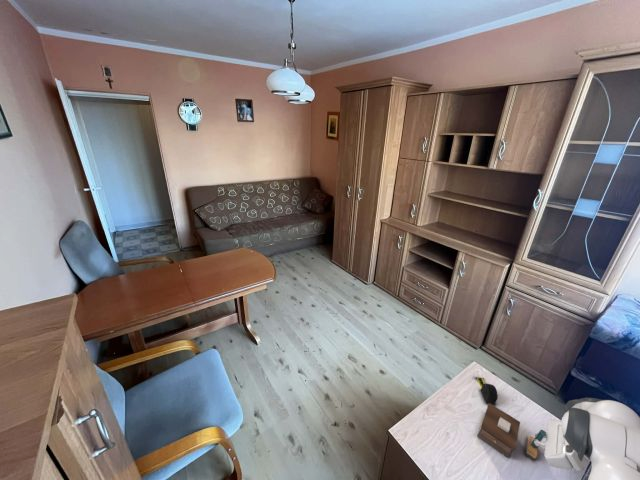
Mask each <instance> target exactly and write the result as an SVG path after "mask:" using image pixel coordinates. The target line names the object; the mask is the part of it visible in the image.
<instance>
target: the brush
mask: <svg viewBox="0 0 640 480" xmlns="http://www.w3.org/2000/svg"><path fill="white" fill-rule="evenodd" d="M546 432H547V431H545V430H544V429H539V431H538V432H537V433H538V434H537V435H536V437H535V436H532V435H529V437H528V439H527V441H526V448H525V449H526V450H525V454H524V455H525V456H526V457H527V458H529V459H531V460H532V461H535V459H536V458H537V457H538V452H539V446H536V445H535V443H534V440H535V439H536V440H539V441H540V442H541V443H542V441H543V439H545V438H544V436H545V435H546Z"/></svg>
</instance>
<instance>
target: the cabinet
mask: <svg viewBox="0 0 640 480" xmlns="http://www.w3.org/2000/svg"><path fill="white" fill-rule="evenodd" d="M486 407H487V408H486V409H485V412H484V414H483V417H482V419H481V422H480V425H479V429H478V431H477V434H476V437H477V438H478V439H480V440H481V441H483V442H484V443H486V444H487V445H489V446H490V447H492V448H493V449H494V450H496V451H497V452H499V453H500V454H501V455H503V457H506V458H509V456H510V455H511V453H512V452H513V450H516V445H517V440H518V435H519V431H520V426H521V421H519V420H518V419H516V418H514V417H513V416H512V415H510V414H508V413H507V412H505V411H503V410H502V409H500V408H499V407H497V406H495V405H492V404H490V403H489V404H487V406H486ZM500 417H501V418H503V419H504V420H506V421H507V422H509V423H510V424H511V425H510V429H509V432H506V431H505V430H503V429H501V428H500V427H498V422H499V419H500Z"/></svg>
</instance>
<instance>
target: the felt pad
mask: <svg viewBox="0 0 640 480" xmlns="http://www.w3.org/2000/svg"><path fill="white" fill-rule="evenodd" d="M510 425H511V424H510V423H509V422H507V421H506V420H504V419H503V418H501V417H500V419H499V422H498V427H500V428H501V429H503V430H505V431H506V432H509V429H510Z"/></svg>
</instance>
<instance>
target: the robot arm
mask: <svg viewBox="0 0 640 480" xmlns="http://www.w3.org/2000/svg"><path fill="white" fill-rule="evenodd" d="M564 408H565V410H566V412H565V413H564V414H563V416H562V418H561V420H560V419H554V418H553V419H549V420H547V426H546V427H547V428H546V431H545V432H546V435H545V436H544V438H543V439H545V441H543V442H542V441H541V442H540V441H539V440H536V439H535V440H534V443H535V445H536V446H538V447H541V448H542V449H543V450H544V455H543V456H544V459H545V460H546V462H547V464H548V465H550V466H551V467H553V468H558V469H563V470H573V468H574V470H575V471H577V472H582V471H583V470H584V467H585V466H586V464H587V463H588V461H590V462H591V470H590V472H589V476H588V478H587V480H640V416H639V415H638V413H636V412H635V411H634V410H633V409H632V408H630V407H629V406H628V405H626V404H624V403H621V402H620V401H616V400H611V399H600V398H595V397H582V398H579V399H572V400H570V399H569V400H568V401H567V402H566V404H565V405H564ZM538 433H539V432H535V434H534V438H535V437H536V435H537V434H538Z"/></svg>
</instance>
